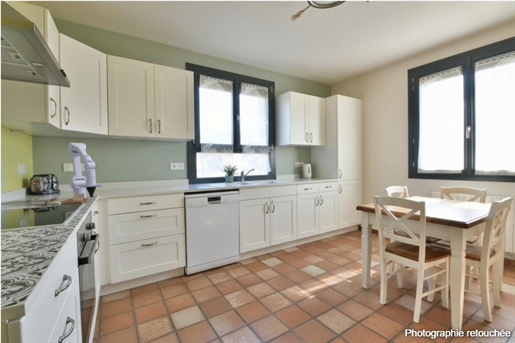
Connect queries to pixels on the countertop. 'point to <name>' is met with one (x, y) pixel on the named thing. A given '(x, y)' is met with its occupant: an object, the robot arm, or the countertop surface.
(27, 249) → the countertop surface
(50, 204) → the trap deck
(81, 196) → the maple block
